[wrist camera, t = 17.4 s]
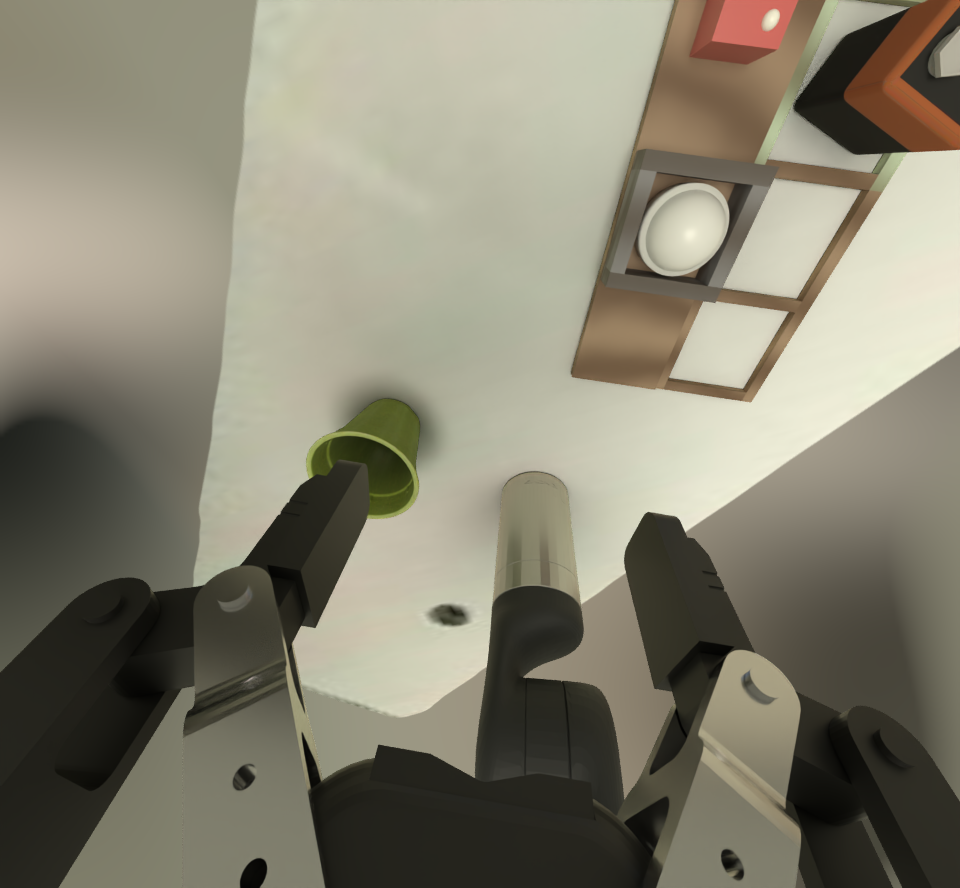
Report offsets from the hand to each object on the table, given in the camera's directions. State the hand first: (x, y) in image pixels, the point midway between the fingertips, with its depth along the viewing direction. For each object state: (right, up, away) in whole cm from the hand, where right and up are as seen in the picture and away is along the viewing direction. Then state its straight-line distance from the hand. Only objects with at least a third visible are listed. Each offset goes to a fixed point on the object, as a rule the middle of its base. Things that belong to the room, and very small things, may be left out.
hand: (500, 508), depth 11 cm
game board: (+22, +20, +22) cm, 37 cm away
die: (+16, +30, +14) cm, 37 cm away
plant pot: (-12, +5, +37) cm, 39 cm away
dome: (+16, +20, +21) cm, 33 cm away
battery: (+26, +27, +16) cm, 41 cm away
